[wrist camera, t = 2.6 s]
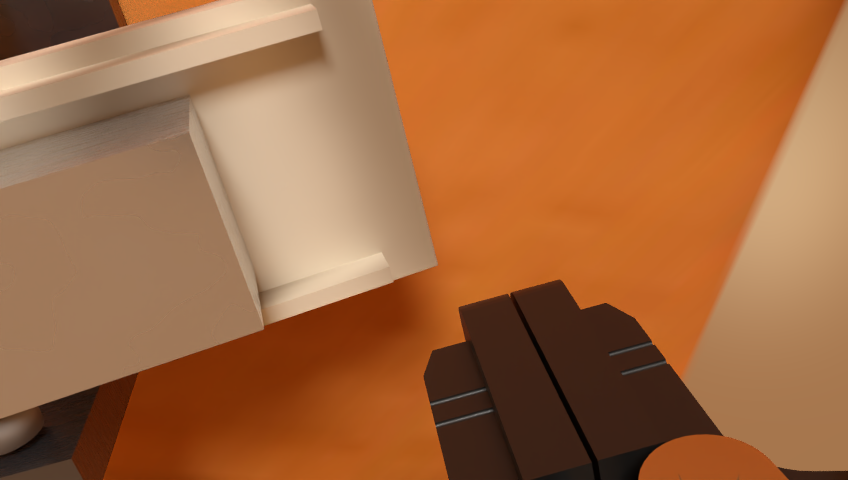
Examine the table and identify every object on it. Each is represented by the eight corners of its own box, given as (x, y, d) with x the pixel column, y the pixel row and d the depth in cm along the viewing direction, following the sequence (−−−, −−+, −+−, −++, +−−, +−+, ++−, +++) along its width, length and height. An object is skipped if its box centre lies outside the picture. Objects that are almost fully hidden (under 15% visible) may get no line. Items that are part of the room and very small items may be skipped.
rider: (189, 94, 19) (189, 132, 16) (254, 267, 21) (264, 329, 18) (-104, 179, 18) (-165, 237, 15) (-5, 351, 20) (-40, 432, 17)
